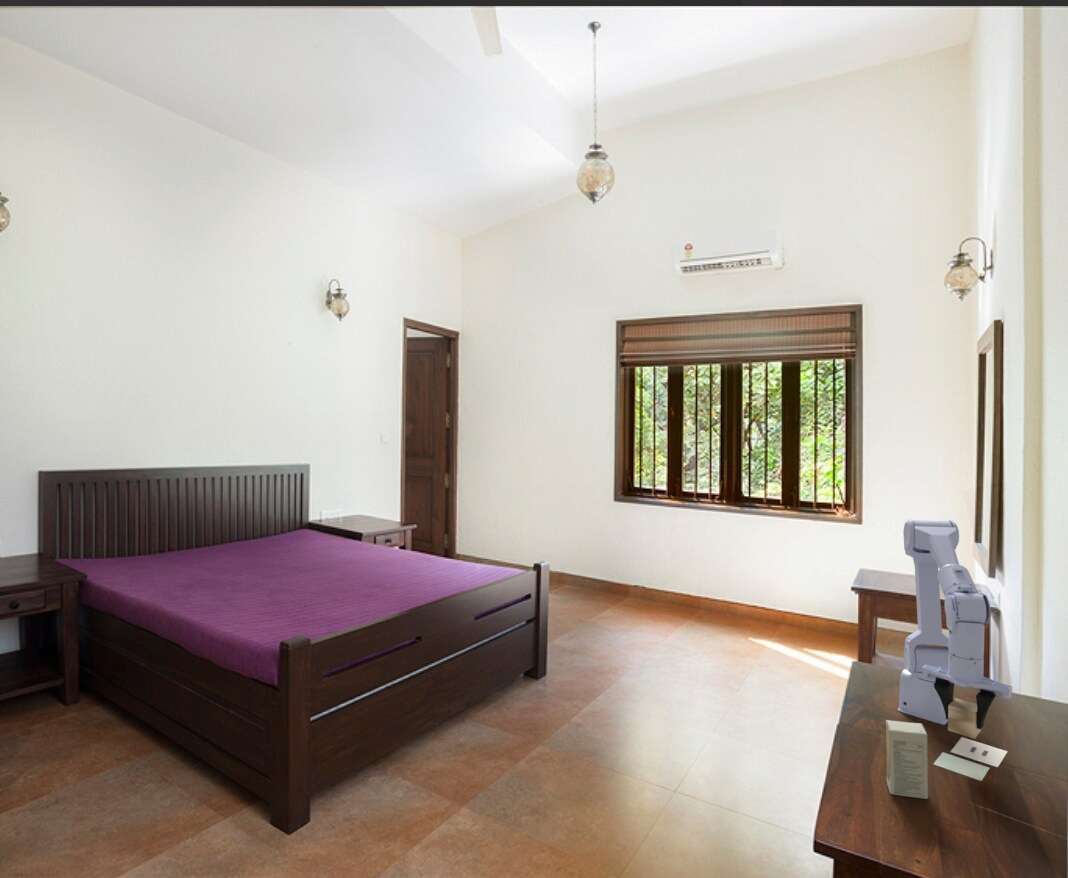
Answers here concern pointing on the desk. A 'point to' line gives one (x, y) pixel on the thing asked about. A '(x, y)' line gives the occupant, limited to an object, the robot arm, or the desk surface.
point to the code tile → (979, 752)
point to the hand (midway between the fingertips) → (964, 722)
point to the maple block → (963, 718)
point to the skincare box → (906, 759)
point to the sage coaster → (961, 766)
